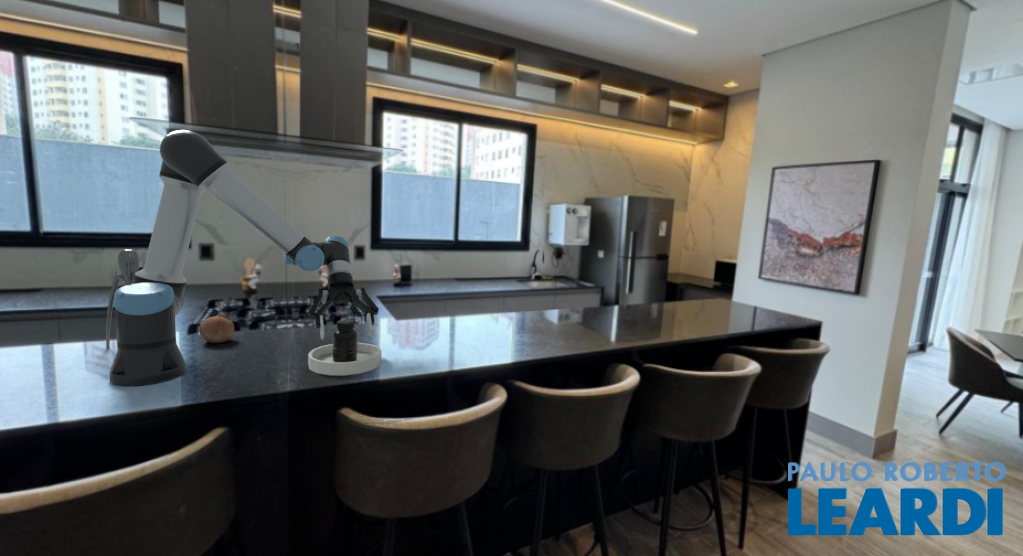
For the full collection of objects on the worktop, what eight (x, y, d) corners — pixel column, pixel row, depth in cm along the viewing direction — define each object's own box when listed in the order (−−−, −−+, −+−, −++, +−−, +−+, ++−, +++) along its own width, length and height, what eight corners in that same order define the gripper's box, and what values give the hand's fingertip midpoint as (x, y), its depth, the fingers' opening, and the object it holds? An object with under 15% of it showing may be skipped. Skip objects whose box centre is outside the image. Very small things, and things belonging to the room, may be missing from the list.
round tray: (313, 379, 116) (313, 366, 116) (305, 357, 133) (305, 346, 133) (388, 370, 126) (388, 358, 126) (372, 350, 143) (372, 340, 143)
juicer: (105, 347, 132) (99, 249, 128) (149, 339, 141) (144, 247, 137) (121, 353, 127) (114, 251, 123) (165, 345, 137) (160, 250, 133)
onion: (224, 347, 147) (234, 318, 151) (232, 346, 141) (242, 316, 144) (192, 341, 141) (202, 311, 145) (198, 339, 135) (209, 308, 138)
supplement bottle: (327, 362, 127) (327, 322, 126) (341, 356, 134) (342, 317, 132) (348, 365, 126) (348, 325, 124) (361, 358, 132) (362, 320, 131)
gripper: (377, 283, 149) (387, 338, 138) (296, 285, 136) (300, 344, 126) (381, 270, 144) (392, 325, 133) (297, 270, 131) (301, 331, 120)
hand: (347, 335), depth 129 cm, fingers open, 13 cm apart
